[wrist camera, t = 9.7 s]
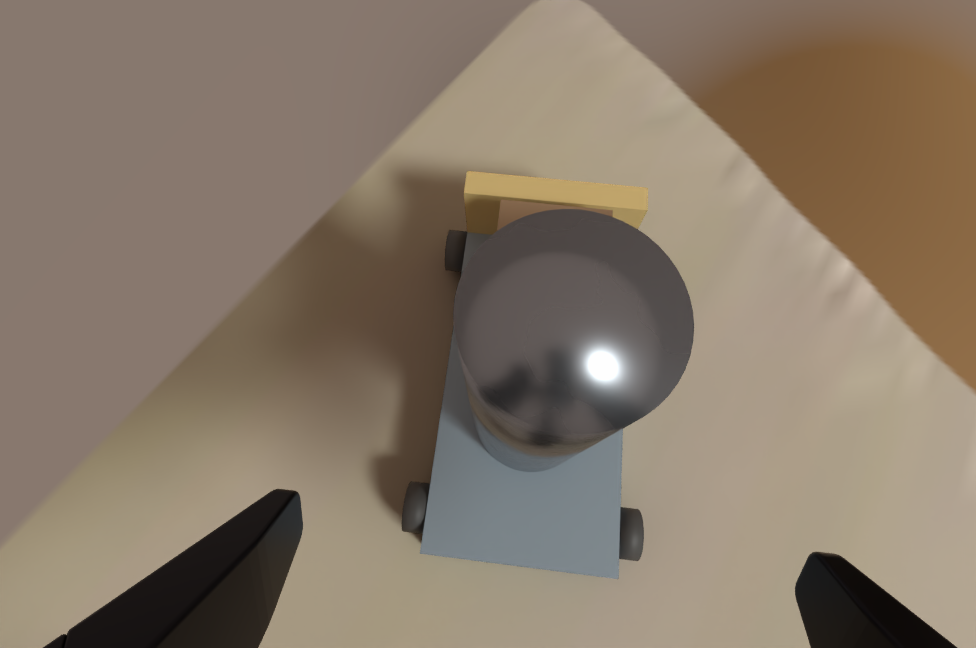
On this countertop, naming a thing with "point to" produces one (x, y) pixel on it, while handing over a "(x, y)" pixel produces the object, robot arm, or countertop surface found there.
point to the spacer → (567, 334)
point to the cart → (502, 490)
